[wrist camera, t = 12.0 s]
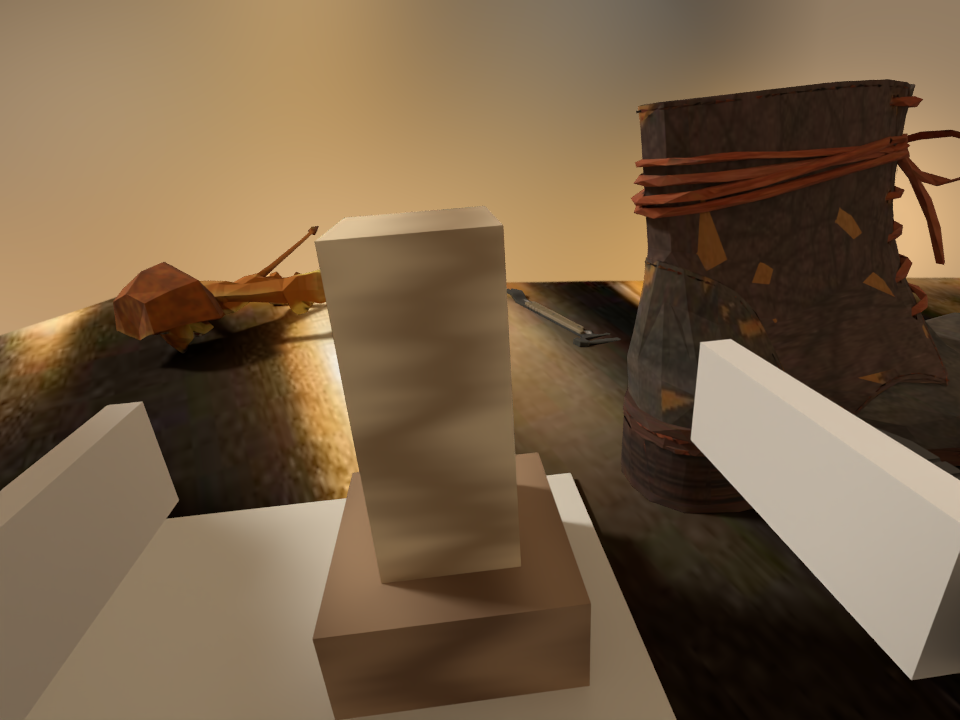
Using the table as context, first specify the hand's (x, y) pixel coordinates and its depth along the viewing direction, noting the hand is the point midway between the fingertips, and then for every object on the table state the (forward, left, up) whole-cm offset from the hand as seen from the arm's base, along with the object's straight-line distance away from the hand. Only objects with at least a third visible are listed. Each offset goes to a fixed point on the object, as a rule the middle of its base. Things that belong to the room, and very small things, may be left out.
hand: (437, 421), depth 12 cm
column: (0, +6, -8) cm, 10 cm away
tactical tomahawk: (+13, +44, -13) cm, 48 cm away
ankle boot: (+25, +15, -13) cm, 32 cm away
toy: (-24, +53, -13) cm, 59 cm away
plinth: (0, +6, -12) cm, 13 cm away
